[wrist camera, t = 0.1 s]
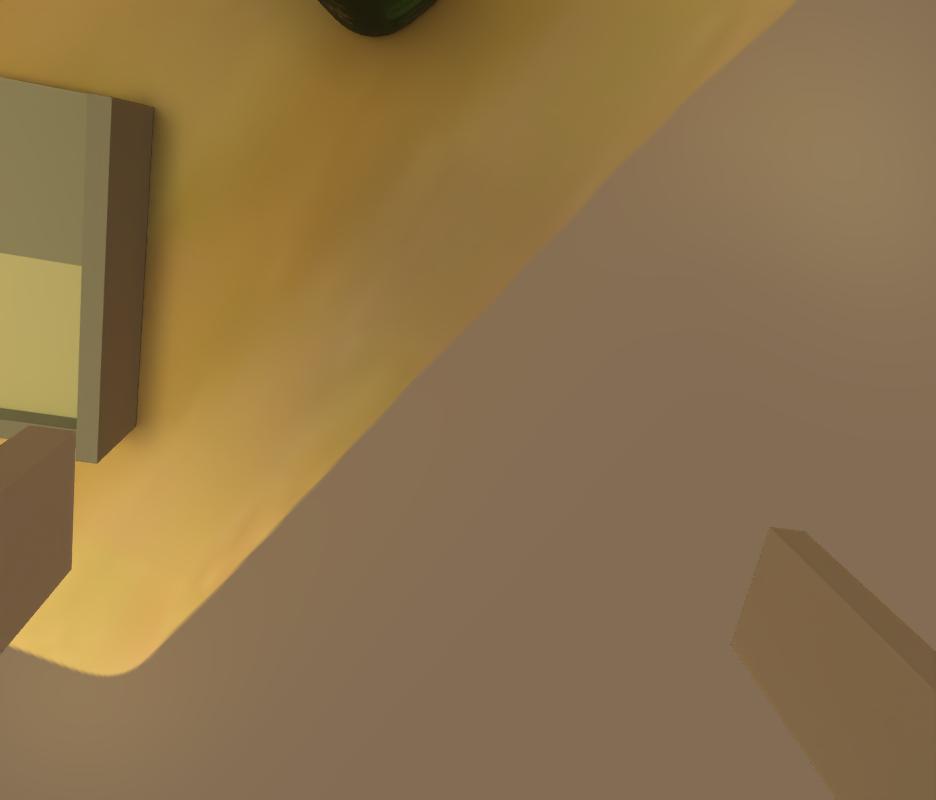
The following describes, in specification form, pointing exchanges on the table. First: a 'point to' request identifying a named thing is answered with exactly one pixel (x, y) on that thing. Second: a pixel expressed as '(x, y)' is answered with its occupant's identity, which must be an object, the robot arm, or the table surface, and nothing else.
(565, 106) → the table surface
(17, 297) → the block
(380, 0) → the coffee jar
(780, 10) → the table surface
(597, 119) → the table surface
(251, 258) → the table surface
